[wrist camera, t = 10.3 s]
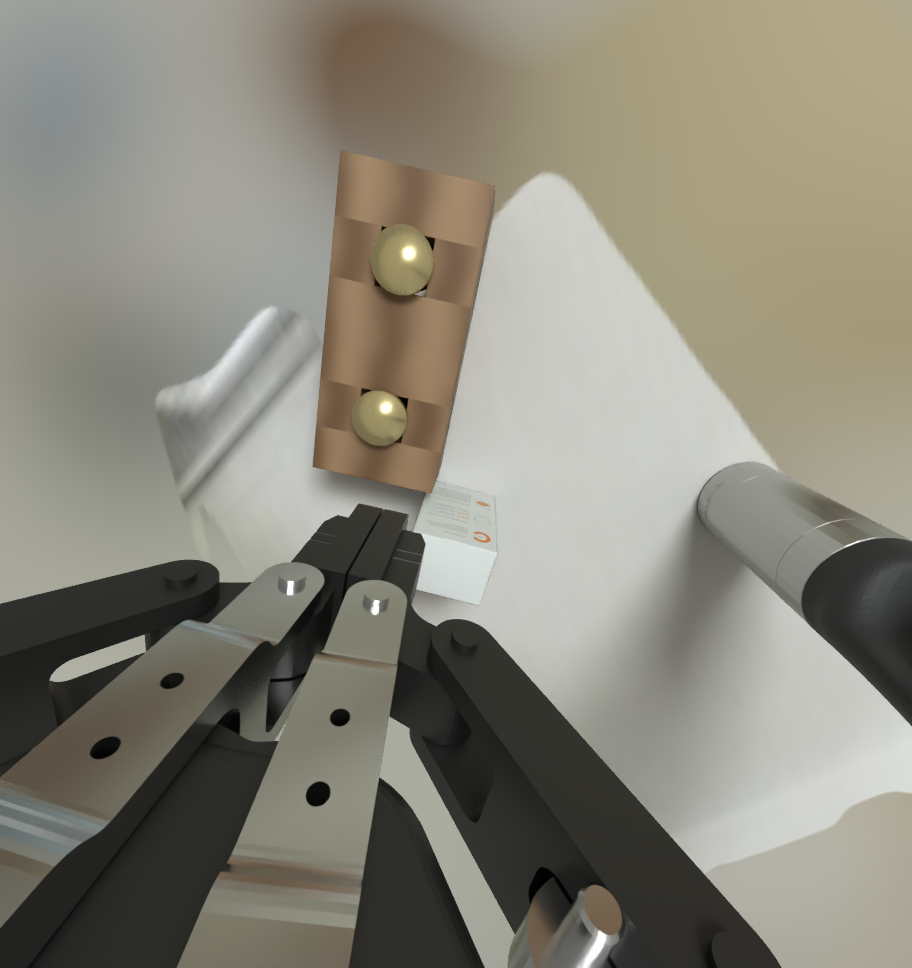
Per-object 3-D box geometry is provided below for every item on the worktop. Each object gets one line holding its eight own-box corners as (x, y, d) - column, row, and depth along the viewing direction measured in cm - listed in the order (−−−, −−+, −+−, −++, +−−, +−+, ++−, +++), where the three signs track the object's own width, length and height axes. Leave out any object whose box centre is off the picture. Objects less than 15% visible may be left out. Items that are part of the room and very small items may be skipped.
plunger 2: (423, 384, 45) (410, 398, 37) (415, 429, 47) (401, 451, 39) (378, 374, 45) (354, 385, 37) (371, 419, 47) (348, 439, 39)
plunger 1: (448, 249, 40) (438, 231, 32) (438, 305, 42) (426, 301, 34) (396, 237, 40) (374, 217, 32) (389, 293, 42) (366, 287, 34)
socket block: (493, 211, 39) (494, 185, 32) (440, 467, 49) (431, 493, 41) (368, 182, 39) (340, 150, 32) (339, 444, 49) (312, 466, 41)
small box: (418, 524, 52) (397, 586, 40) (430, 478, 50) (411, 529, 37) (482, 541, 52) (480, 608, 40) (496, 496, 50) (499, 552, 38)
